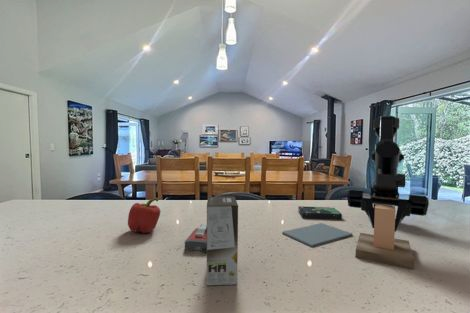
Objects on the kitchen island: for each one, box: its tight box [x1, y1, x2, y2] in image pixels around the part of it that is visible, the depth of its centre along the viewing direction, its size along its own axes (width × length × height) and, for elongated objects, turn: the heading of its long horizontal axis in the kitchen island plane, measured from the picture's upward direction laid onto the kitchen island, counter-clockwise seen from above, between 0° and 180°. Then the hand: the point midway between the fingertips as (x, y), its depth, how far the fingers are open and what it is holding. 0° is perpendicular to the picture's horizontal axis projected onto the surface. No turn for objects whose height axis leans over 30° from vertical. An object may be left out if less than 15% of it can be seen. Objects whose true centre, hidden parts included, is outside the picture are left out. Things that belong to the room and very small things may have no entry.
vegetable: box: [127, 197, 161, 234], centre depth 82 cm, size 11×10×10 cm
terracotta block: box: [373, 204, 397, 250], centre depth 66 cm, size 4×4×10 cm
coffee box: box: [206, 196, 239, 286], centre depth 55 cm, size 9×6×16 cm
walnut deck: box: [355, 232, 415, 270], centre depth 67 cm, size 14×12×2 cm
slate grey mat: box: [281, 222, 353, 248], centre depth 80 cm, size 18×12×1 cm, turn 121°
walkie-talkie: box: [184, 224, 207, 253], centre depth 75 cm, size 9×4×20 cm
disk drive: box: [297, 206, 343, 221], centre depth 101 cm, size 10×3×15 cm
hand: (384, 229), depth 65 cm, fingers closed on terracotta block, 4 cm apart
